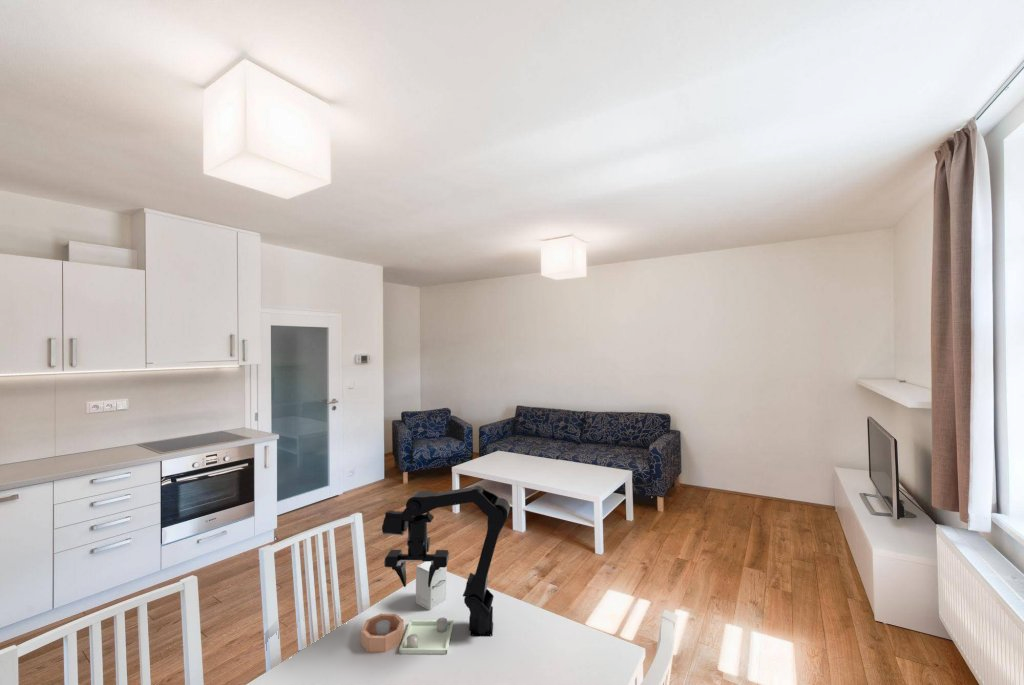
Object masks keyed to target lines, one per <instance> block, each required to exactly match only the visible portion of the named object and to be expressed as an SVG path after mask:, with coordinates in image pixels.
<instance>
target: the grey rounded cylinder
mask: <svg viewBox="0 0 1024 685" xmlns="http://www.w3.org/2000/svg"><path fill="white" fill-rule="evenodd" d="M389 633H390V622H389V621H388V620H381V621H379V622H378V623H377V624H376V636H385V635H387V634H389Z"/></svg>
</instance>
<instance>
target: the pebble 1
mask: <svg viewBox="0 0 1024 685" xmlns="http://www.w3.org/2000/svg"><path fill="white" fill-rule="evenodd" d="M407 648H418V635H416V634H411V635H409V636H408V637H407Z"/></svg>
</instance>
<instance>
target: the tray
mask: <svg viewBox="0 0 1024 685" xmlns="http://www.w3.org/2000/svg"><path fill="white" fill-rule="evenodd" d="M437 620H438V619H436V620H434V619H433V620H428V619H427V620H425V619H423V620H422V619H419V620H418V619H416V620H415V619H414V620H413V619H410V621H409V623H408V626H407V627H406V630H405V633H404V635H403V637H402V640H401V643H400V646H399V649H398V654H399V655H448V651H449V645H450V642H451V637H452V633H453V628H454V620H448V619H447V630H446V631H445V632H443V633H439V632H438V631H437ZM411 634H416V635H418V648H407V637H408V636H409V635H411Z"/></svg>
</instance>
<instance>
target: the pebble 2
mask: <svg viewBox="0 0 1024 685" xmlns="http://www.w3.org/2000/svg"><path fill="white" fill-rule="evenodd" d="M436 620H437V631H438V632H439V633H443V632H445V631H446V630H447V620H448V619H447V618H446V617H439V618H437V619H436Z"/></svg>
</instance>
